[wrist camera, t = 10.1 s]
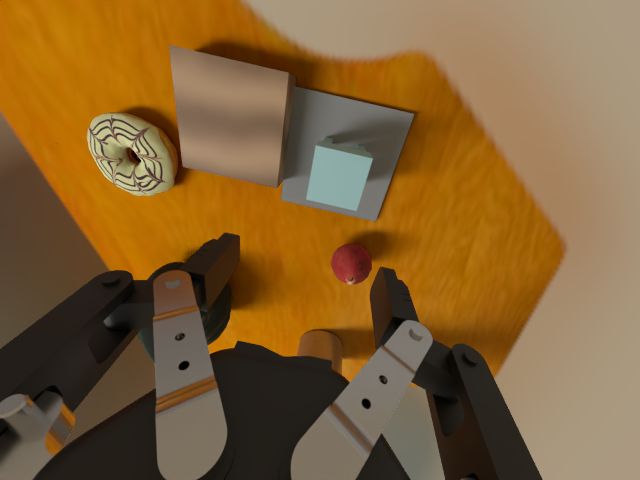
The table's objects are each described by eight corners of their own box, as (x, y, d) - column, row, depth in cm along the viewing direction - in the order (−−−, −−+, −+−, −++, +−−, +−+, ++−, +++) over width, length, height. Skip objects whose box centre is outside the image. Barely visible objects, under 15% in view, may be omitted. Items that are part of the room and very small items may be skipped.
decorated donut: (192, 190, 35) (177, 199, 32) (127, 188, 37) (106, 197, 33) (168, 111, 30) (147, 113, 27) (93, 112, 31) (63, 114, 28)
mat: (375, 219, 35) (375, 221, 34) (282, 198, 34) (281, 200, 34) (413, 113, 27) (414, 113, 27) (295, 86, 27) (294, 86, 27)
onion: (358, 227, 36) (360, 258, 29) (376, 254, 38) (382, 289, 31) (326, 244, 38) (321, 276, 31) (345, 269, 40) (344, 304, 33)
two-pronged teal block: (367, 144, 29) (372, 158, 22) (354, 187, 32) (356, 211, 25) (323, 134, 29) (315, 145, 22) (315, 177, 32) (306, 199, 25)
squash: (173, 246, 34) (84, 342, 29) (256, 300, 39) (192, 391, 34) (178, 249, 47) (117, 317, 41) (241, 290, 52) (193, 356, 46)
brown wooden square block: (284, 178, 33) (277, 188, 29) (199, 159, 33) (182, 166, 29) (296, 76, 27) (288, 72, 23) (192, 51, 26) (169, 44, 23)
